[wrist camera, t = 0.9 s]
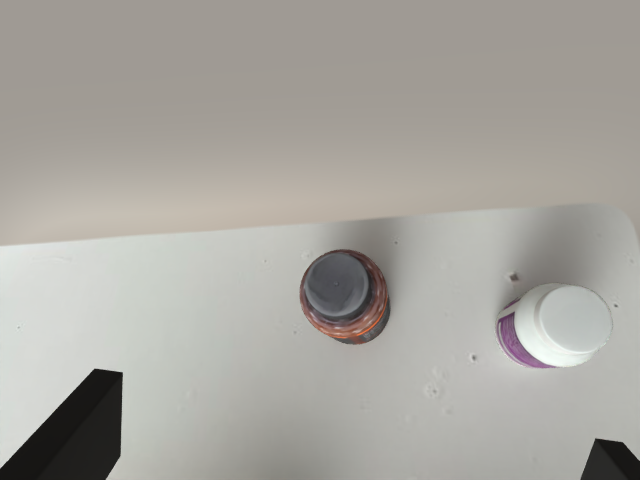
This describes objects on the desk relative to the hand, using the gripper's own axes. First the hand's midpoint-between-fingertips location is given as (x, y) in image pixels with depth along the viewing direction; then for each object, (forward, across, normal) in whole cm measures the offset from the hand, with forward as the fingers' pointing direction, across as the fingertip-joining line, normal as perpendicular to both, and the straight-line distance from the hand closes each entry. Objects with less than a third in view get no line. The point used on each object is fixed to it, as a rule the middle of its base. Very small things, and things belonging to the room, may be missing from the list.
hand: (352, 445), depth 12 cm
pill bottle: (+22, +16, -5) cm, 28 cm away
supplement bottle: (+25, +2, -7) cm, 26 cm away
